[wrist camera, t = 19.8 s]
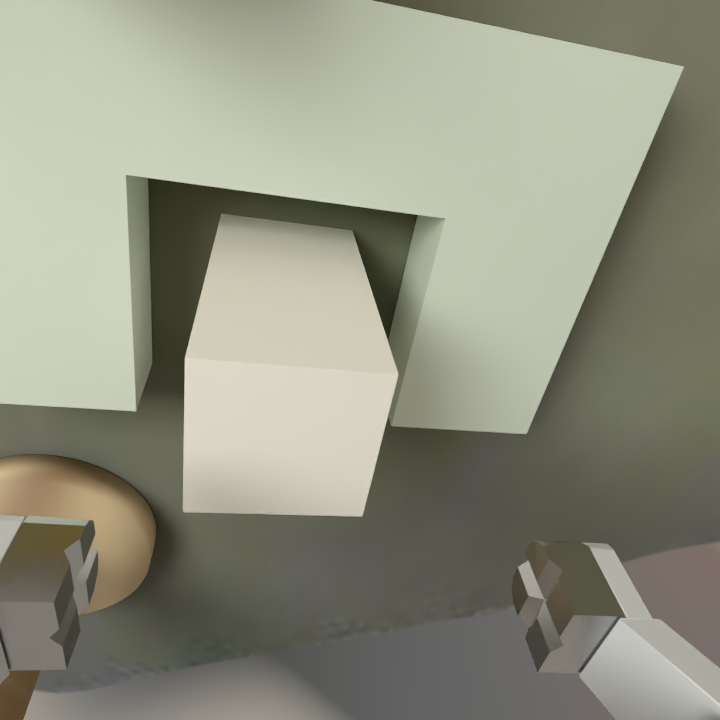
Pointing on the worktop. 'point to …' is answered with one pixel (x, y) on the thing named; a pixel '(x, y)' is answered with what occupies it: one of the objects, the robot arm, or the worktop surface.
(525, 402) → the notched board
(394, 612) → the worktop surface
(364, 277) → the block
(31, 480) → the bobbin post
